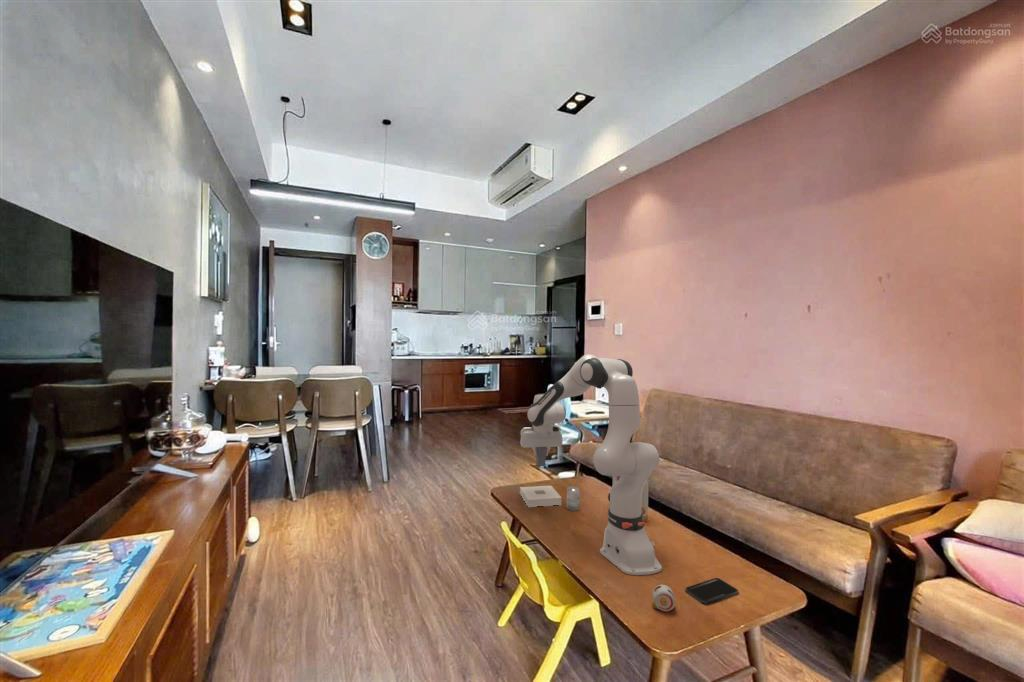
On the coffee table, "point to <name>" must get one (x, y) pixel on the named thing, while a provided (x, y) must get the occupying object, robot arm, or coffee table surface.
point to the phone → (711, 591)
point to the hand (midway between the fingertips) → (541, 456)
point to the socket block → (540, 496)
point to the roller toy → (663, 598)
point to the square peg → (541, 456)
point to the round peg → (573, 498)
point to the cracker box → (644, 499)
